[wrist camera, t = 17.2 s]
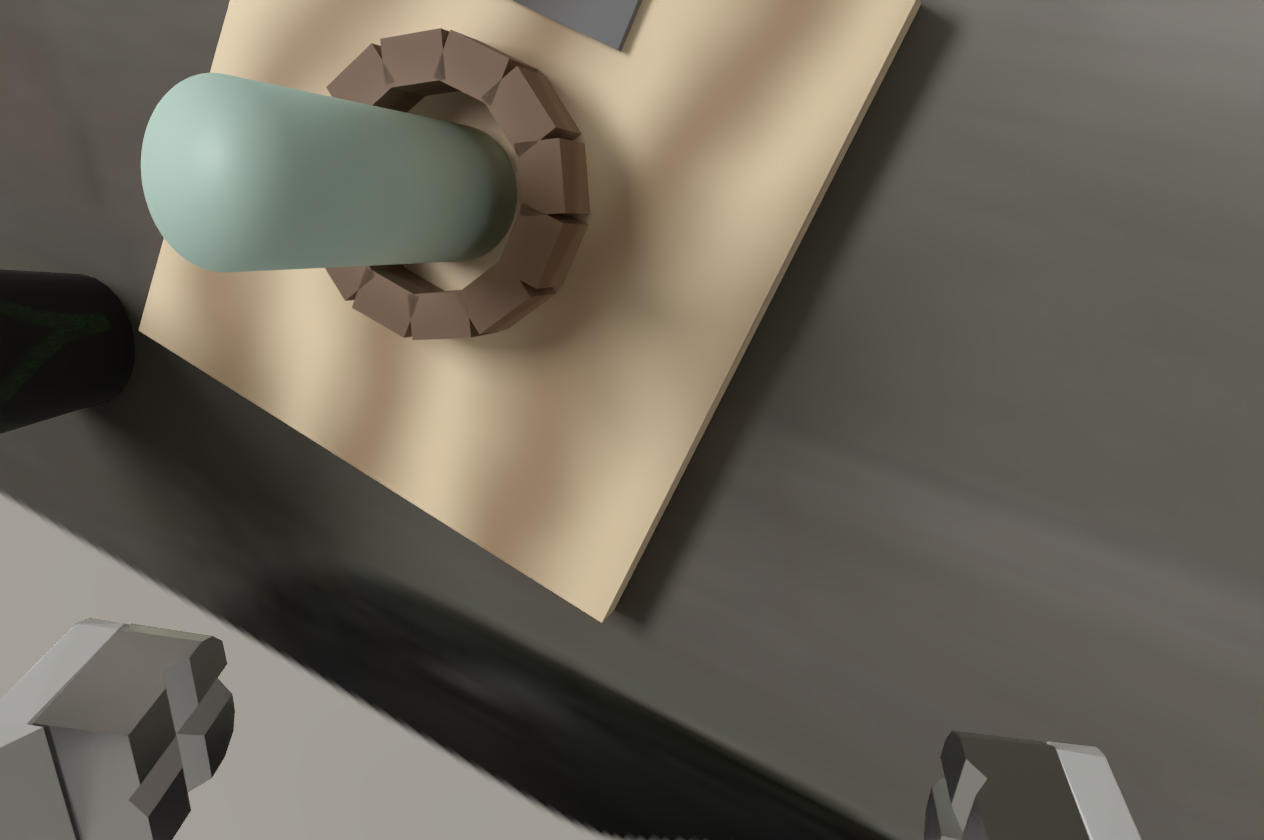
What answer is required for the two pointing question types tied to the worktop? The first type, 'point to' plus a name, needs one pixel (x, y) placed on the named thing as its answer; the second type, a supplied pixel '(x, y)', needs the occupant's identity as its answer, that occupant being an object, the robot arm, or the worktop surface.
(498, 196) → the peg
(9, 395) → the cup
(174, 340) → the socket board
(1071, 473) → the worktop surface
